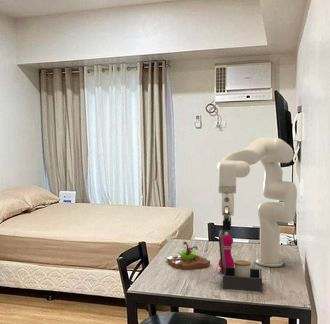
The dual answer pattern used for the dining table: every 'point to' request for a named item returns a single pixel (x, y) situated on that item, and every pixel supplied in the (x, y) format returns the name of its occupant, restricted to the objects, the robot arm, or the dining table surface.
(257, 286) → the dark grey open box
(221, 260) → the lid
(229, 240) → the pepper mill
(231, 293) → the dining table surface
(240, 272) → the canister
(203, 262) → the plant
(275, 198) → the robot arm
